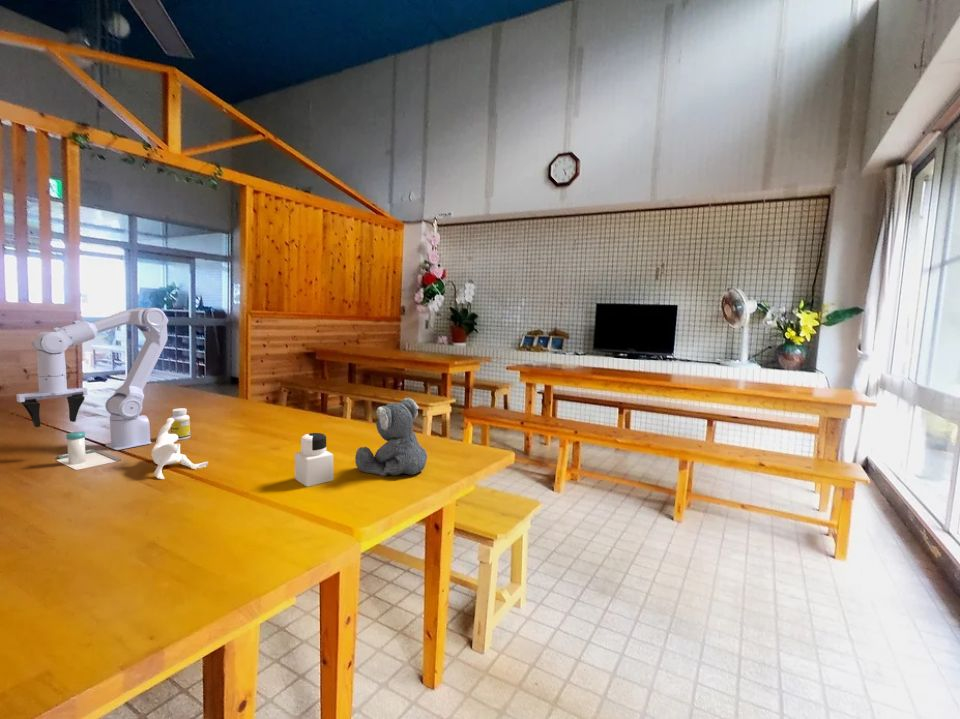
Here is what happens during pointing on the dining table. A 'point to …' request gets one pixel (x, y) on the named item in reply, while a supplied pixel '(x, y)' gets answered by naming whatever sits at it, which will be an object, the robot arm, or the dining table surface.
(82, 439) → the white teal cylinder
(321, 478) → the medicine bottle
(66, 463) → the white rectangular slab
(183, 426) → the supplement bottle
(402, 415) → the koala plush
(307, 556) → the dining table surface
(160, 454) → the person figurine
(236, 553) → the dining table surface
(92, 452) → the green striped bar
